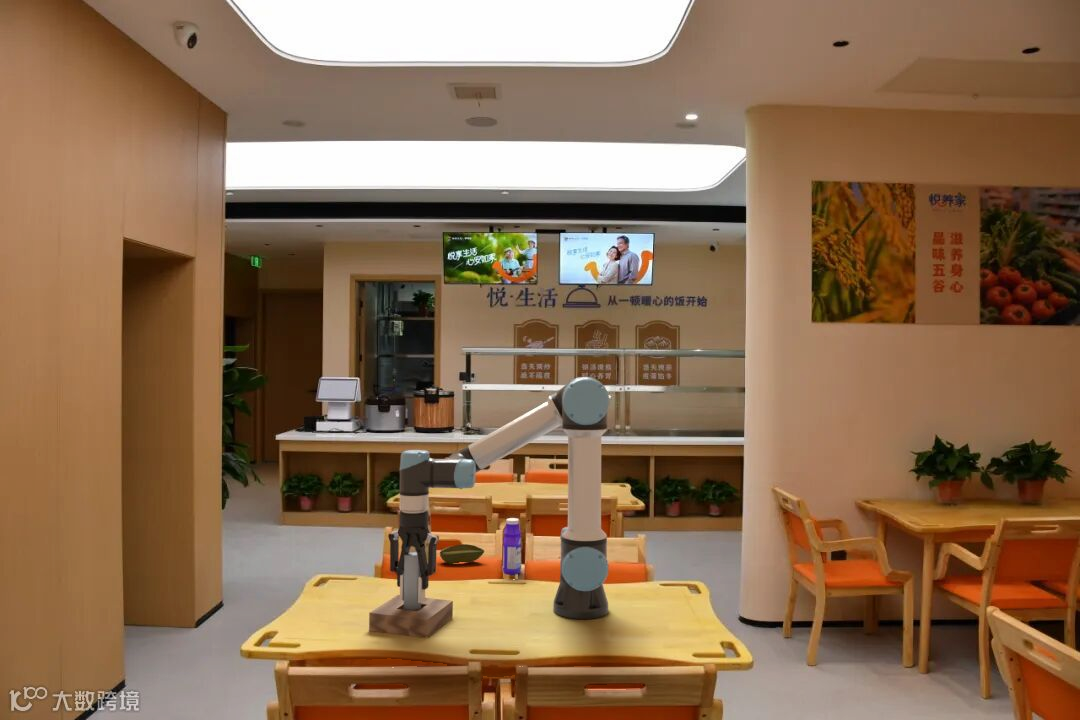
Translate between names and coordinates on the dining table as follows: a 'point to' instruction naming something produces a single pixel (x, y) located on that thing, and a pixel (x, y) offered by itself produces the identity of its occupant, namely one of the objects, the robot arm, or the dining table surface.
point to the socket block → (411, 617)
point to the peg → (411, 582)
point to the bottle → (512, 547)
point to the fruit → (461, 553)
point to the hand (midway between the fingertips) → (412, 600)
